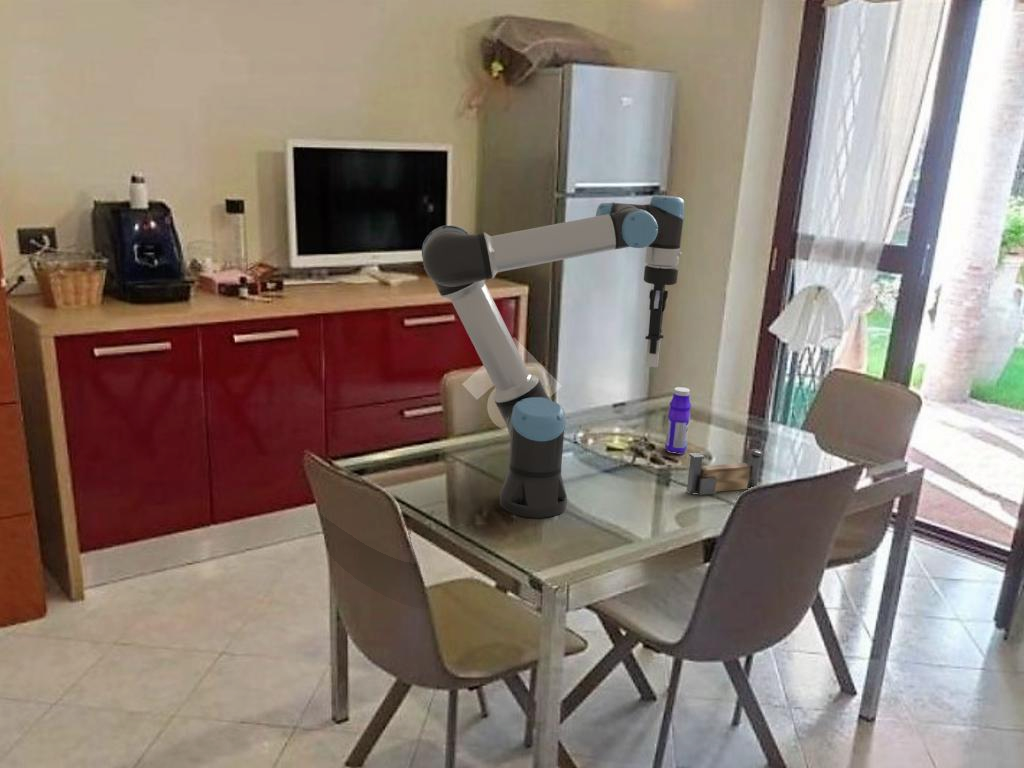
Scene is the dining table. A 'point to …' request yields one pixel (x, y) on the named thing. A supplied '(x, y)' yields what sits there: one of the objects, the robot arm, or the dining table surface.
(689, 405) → the bottle
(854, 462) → the dining table surface
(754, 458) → the hinge post
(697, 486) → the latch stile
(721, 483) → the gate
